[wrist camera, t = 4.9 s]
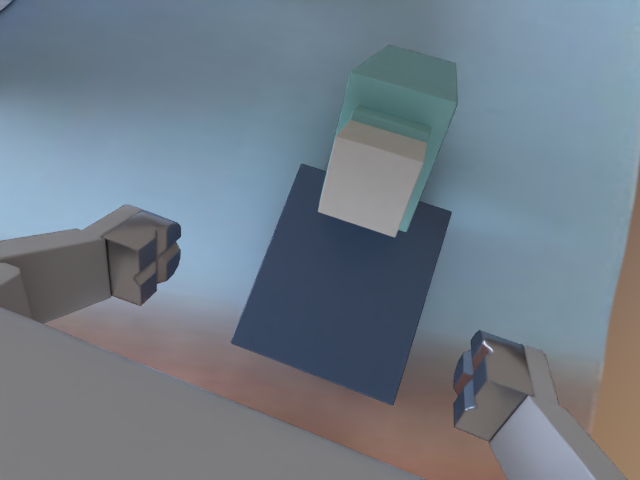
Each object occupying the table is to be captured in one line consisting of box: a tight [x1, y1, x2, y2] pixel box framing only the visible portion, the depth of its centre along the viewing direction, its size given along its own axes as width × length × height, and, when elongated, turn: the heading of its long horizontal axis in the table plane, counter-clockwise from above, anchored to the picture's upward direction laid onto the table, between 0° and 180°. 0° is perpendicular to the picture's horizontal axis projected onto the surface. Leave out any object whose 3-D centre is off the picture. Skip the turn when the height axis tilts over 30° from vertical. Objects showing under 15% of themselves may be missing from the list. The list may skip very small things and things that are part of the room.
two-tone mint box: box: [318, 45, 458, 237], centre depth 24 cm, size 16×5×16 cm, turn 160°
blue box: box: [231, 164, 452, 405], centre depth 27 cm, size 13×10×6 cm
